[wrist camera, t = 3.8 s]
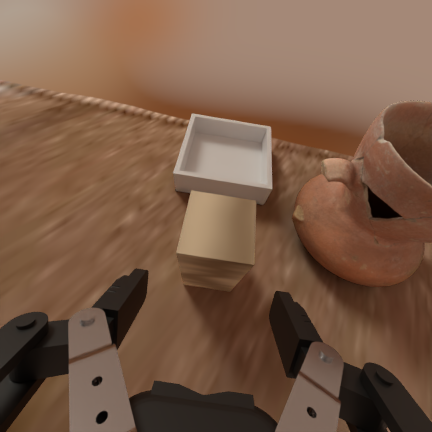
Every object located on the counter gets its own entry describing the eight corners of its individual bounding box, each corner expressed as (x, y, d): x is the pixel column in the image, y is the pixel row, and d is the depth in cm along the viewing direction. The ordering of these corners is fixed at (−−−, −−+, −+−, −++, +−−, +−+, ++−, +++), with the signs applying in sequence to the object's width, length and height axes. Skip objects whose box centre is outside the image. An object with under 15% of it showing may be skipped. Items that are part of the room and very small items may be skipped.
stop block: (183, 284, 21) (176, 252, 12) (192, 241, 24) (191, 190, 15) (229, 291, 21) (254, 264, 13) (233, 247, 24) (256, 200, 15)
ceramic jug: (278, 281, 22) (389, 225, 10) (273, 181, 29) (333, 75, 17) (428, 300, 23) (701, 271, 11) (387, 198, 30) (523, 111, 18)
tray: (175, 190, 27) (173, 173, 24) (192, 133, 33) (192, 113, 30) (263, 204, 27) (272, 189, 24) (263, 145, 33) (270, 126, 30)
